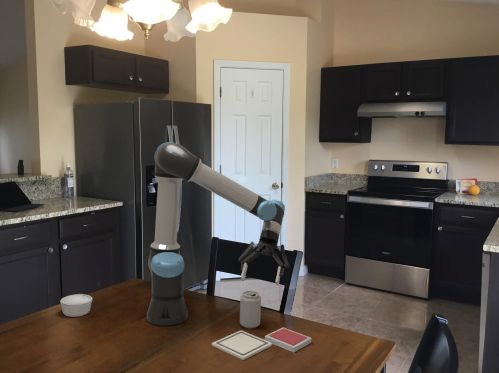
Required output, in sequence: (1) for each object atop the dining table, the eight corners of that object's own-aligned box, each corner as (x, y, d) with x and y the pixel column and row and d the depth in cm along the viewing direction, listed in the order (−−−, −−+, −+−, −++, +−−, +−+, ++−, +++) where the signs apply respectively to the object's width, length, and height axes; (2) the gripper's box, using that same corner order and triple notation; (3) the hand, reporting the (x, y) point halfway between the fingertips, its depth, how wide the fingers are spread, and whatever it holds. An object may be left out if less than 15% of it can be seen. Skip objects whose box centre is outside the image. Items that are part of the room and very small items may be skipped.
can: (258, 330, 162) (259, 297, 161) (237, 328, 164) (238, 295, 163) (261, 322, 170) (262, 290, 168) (242, 319, 171) (242, 288, 170)
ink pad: (264, 340, 154) (264, 335, 154) (282, 331, 162) (283, 326, 162) (293, 352, 147) (293, 346, 146) (311, 342, 154) (311, 337, 154)
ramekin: (98, 311, 176) (98, 298, 175) (73, 320, 166) (73, 306, 166) (79, 304, 182) (79, 291, 181) (54, 313, 172) (54, 300, 172)
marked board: (211, 345, 150) (211, 342, 150) (240, 332, 160) (240, 330, 160) (243, 360, 141) (243, 357, 141) (272, 345, 151) (272, 342, 151)
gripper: (301, 242, 186) (293, 289, 174) (242, 236, 193) (230, 282, 181) (299, 231, 181) (290, 280, 168) (239, 226, 187) (226, 273, 175)
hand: (259, 281), depth 174 cm, fingers open, 13 cm apart
